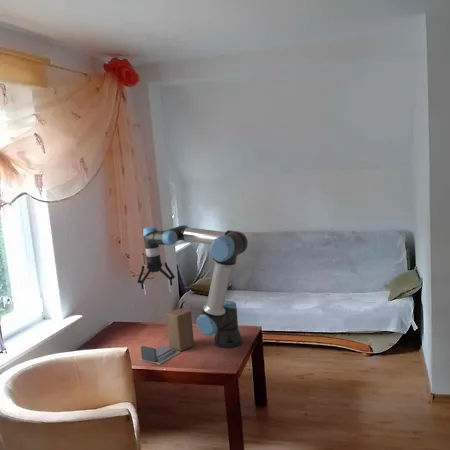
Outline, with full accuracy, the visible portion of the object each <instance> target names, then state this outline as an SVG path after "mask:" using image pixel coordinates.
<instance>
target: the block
mask: <svg viewBox="0 0 450 450" xmlns="http://www.w3.org/2000/svg"><path fill="white" fill-rule="evenodd" d="M165 316H166V324H167V335H168V336H167V337H168V347H172V348H173V349H176V351H180V352H183V351H186V350H187V349H190V348H192V347H194V345H195V341H194V331H193V328H194V327H193V319H192V318H193V317H192V311H190V310H187V309H184V308H177V309H173V310H171V311H168V312H166V314H165Z"/></svg>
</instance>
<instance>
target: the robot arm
mask: <svg viewBox="0 0 450 450" xmlns="http://www.w3.org/2000/svg"><path fill="white" fill-rule="evenodd" d="M142 232H143V233H142V234H143V235H142V236H143V241H144V247H145V248H144V250H145V256H146V265H145V264H142V265H141V270H140V273H139V276H138V279H137V283H138V284H141V289H142V290H143V292H144V296H146V295H147V289H146V283H145V281H146V280H147V278H148V276H149V275H150V274H151V273H158V272H160V273H161V274H163V275H164V276H165V277H166V278H167V282H168V289H169V290H168V291H169V293H171V292H172V289H171V288H172V287H171V286H173V281H172V280H173V279H175V274H174V273H173V271H172V270H171V269H170V267H169V265H168V263H167V261H165V262H162V260H161V258H162V257H161V252H160V251H161V250H160V246H172V245H175V244H176V243H177V242H179V241H183V242H189V243H190V242H191V243H199V244H206V245H210V254H211V256H212V261H213V262H214V266H213V272H212V276H211V280H210V281H211V282H210V287H209V292H208V296H207V301H206V304H204V305H203V307H202V310H201V311H202V312H201V314H199V316H198V317H197V319H196V327H197V328H198V329H199V332H200V333H202V335H205V336H208V337H209V336H213V335H214V340H213V341H214V345H215V346H216V347H219V348H224V349H229V348H230V349H231V348H235V347H238V346H240V345H241V344H242V343H243V336H242V335H241V331H240V330H239V322H238V308H237V303H236V302H235V301H233V300H225V299H226V295H227V290H228V287H229V286H228V285H229V283H230V277H231V272H232V269H233V268H232V267H234V266H235V265H236V263H237V260H238V259H237V258H238V256H239V255H241V254H243V253H244V252H246V250H247V248H248V246H249V241H248V237H247V236H246V235H245V234H244V233H243V232H241V231H237V230H226V231H222V230H221V231H220V230H212V229H206V228H205V229H204V228H197V227H196V228H195V227H189V226H188V225H186V224H185V225H184V224H183V225H178V226H175V227H172V228H169V229H166V230H158V227H157V226H147V227H143V230H142ZM162 267H165V269H166V270H167V272H166V271H165V270H164V269H163V268H162ZM146 268H147V269H148V270H147V272H146V273H145V275H144V277H143V274H144V270H146ZM168 273H169V274H168ZM142 277H143V278H142Z"/></svg>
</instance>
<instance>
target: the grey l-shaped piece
mask: <svg viewBox="0 0 450 450" xmlns="http://www.w3.org/2000/svg"><path fill="white" fill-rule="evenodd" d="M180 353H181V351H178V350H176V349H173V348H172V347H170V346H168V345H160V346H159V347H156V348H155V347H150V346H145V345H141V346H140V354H141V357H139V358H138V359H139V361H143V362H148V363H151V364H156V365H161V364H163V363H165V362H166V361H168V360H170V359H173V358H174V357H175V356H177V355H178V354H180Z"/></svg>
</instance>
